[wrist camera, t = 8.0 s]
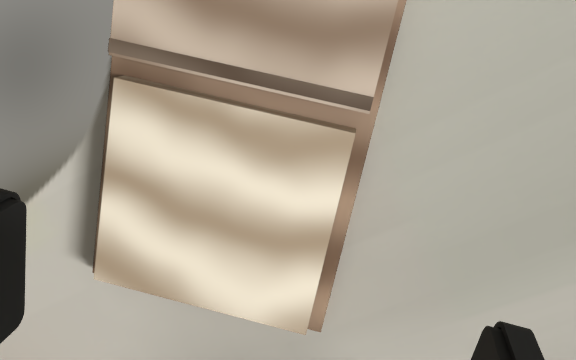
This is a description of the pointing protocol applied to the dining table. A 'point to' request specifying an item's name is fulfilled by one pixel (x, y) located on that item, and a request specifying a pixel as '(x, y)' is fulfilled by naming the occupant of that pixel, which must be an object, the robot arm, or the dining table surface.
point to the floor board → (268, 70)
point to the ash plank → (218, 202)
